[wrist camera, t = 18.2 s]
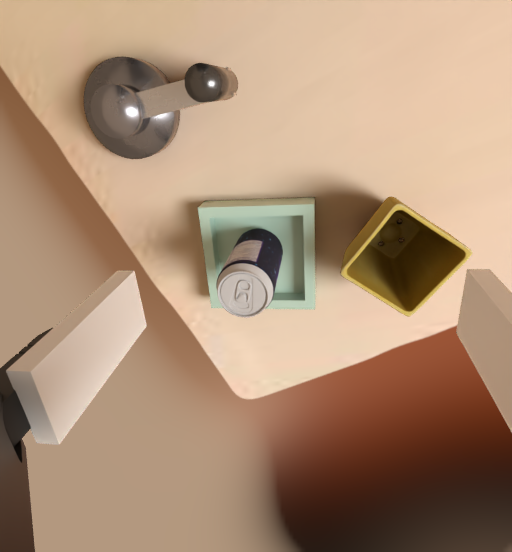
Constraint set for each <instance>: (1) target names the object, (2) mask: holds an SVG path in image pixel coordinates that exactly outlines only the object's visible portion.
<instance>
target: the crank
mask: <svg viewBox="0 0 512 552" xmlns="http://www.w3.org/2000/svg"><path fill="white" fill-rule="evenodd" d="M237 89H238V80H237V77H236V75H235V74H234V73H233V72H232V71H231V68H228V67H227V68H222V67H218V66H213V65H209V64H204V63H197V64H194V65H193V66H191V67H190V68H189V69H188V71H187V73H186V75H185V79H184V80H180V81H177V82H173V83H170V84H166V85H163V86H159V87H155V88H152V89H148V90H145V91H140V90H138V89H137V88H135V87H134V86H131V85H126V84H107V85H103V86H101V87H100V88H98V89H97V90H96V92H95V93H94V95H93V97H92V100H91V114H92V117H93V120H94V122H95V124H96V125H97V127H98V128H99V129H100V130H101V131H102V132H103V133H104V134H106V135H107V136H109V137H112V138H117V139H121V138H126V137H130V136H134V135H137V134H140V133H142V132H143V131H144V130H145V129H146V128H147V126H148V124H149V121H150V117H154V116H158V115H161V114H165V113H169V112H173V111H177V110H181V109H184V108H188V107H192V106H196V105H200V104H204V103H208V102H212V101H220V100H228V99H230V98H232V97H233V96H234V95H237V94H236V92H237Z"/></svg>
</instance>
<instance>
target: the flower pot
mask: <svg viewBox="0 0 512 552" xmlns="http://www.w3.org/2000/svg"><path fill="white" fill-rule="evenodd" d="M399 219H401V220H402V223H401V224H398V223H397V220H399ZM400 238H404V241H403V242H399V239H400ZM380 241H382V242H383V243H384V244H383V245H382V246H380V245H379V242H380ZM471 255H472V251H471V250H470V249H469V248H468V247H466V246H465V245H464V244H462V243H461V242H459V241H458V240H457V239H455V238H454V237H453V236H451V235H450V234H449V233H447V232H445V231H444V230H442V229H441V228H439V227H438V226H436V225H434V224H433V223H431V222H430V221H428V220H427V219H425V218H424V217H422V216H421V215H419V214H418V213H416V212H415V211H414V210H412V209H411V208H409V207H408V206H406V205H405V204H403V203H402V202H400V201H399V200H398V199H396V198H394V197H388V198H387V199H386V200H385V201H384V202H383V203H382V205H381V206H380V207H379V209H378V210H377V211H376V212H375V214H374V215H373V216H372V217H371V219H370V220H369V221H368V222H367V224H366V225H365V226H364V227H363V229H362V230H361V231H360V232H359V234H358V235H357V236H356V237H355V238H354V240H353V241H352V242H351V243H350V245H349V246H348V247H347V249H346V251H345V253H344V258H343V262H342V267H341V272H340V273H341V276H343V277H344V278H345V279H347V280H349V281H350V282H352V283H354V284H355V285H357V286H359V287H360V288H362V289H364V290H365V291H367V292H368V293H370V294H372V295H373V296H375V297H376V298H378V299H379V300H381V301H383V302H384V303H386V304H388V305H389V306H391V307H392V308H394V309H395V310H397V311H399V312H400V313H402V314H404V315H406V316H408V317H410V316H411V315H413V314H414V313H415V312H416V311H417V310H418V309H419V308H420V307H421V306H422V305H423V304H424V303H425V302H426V301H427V300H428V299H429V298H430V297H431V296H432V295H433V294H434V293H435V292H436V291H437V290H438V289H439V288H440V287H441V286H442V285H443V284H444V283H445V282H446V281H447V280H448V279H449V278H450V277H451V276H452V275H453V274H454V273H455V272H456V271H457V270H458V269H459V268H460V267H461V266H462V265H463V264H464V263H465V262H466V261H467V260H468V259H469V257H470V256H471Z"/></svg>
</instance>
